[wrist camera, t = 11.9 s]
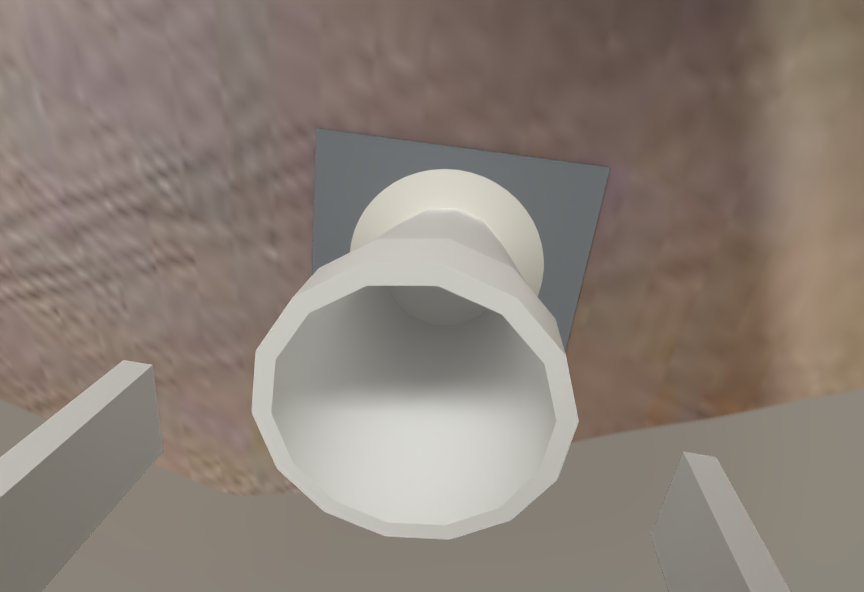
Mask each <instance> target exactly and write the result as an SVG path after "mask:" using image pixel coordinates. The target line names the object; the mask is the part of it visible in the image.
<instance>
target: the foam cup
mask: <svg viewBox="0 0 864 592" xmlns="http://www.w3.org/2000/svg"><path fill="white" fill-rule="evenodd" d="M252 414H253V417H254V419H255V421H256V423H257V425H258V428H259V430H260V432H261V434H262V437H263V439H264V441H265V443H266V445H267V448H268V450H269V452H270V454H271V457H272V459H273V461H274V463H275V465H276V468H277V469H278V470H279V471H280V472H281V473H282V474H283V475H284V476H286V477H287V478H288V479H289V480H290V481H291V482H292V483H293V484H294V485H295V486H297V487H298V488H299V489H300V490H301V491H302V492H303V493H304V494H305V495H307V496H308V497H309V498H310V499H311V500H312V501H313V502H314V503H315V504H316V505H317V506H319V507H320V508H321V509H322V510H323V511H324V512H326V513H329V514H331V515H334V516H336V517H338V518H341V519H343V520H346V521H349V522H351V523H353V524H356V525H358V526H361V527H363V528H366V529H368V530H371V531H373V532H375V533H378V534H380V535H383V536H388V537H407V538H428V539H446V540H448V539H449V540H450V539H454V538H457V537H460V536H464V535H467V534H469V533H473V532H476V531H479V530H483V529H485V528H489V527H492V526H495V525H498V524H502V523H505V522H508V521H511V520H512V519H513V518H514V517H516V516H517V515H518V514H519V513H520V512H521V511H522V510H524V509H525V508H526V507H527V506H528V505H529V504H530V503H531V502H533V501H534V500H535V499H536V498H537V497H538V496H539V495H541V494H542V493H543V492H544V491H545V490H546V489H547V488H548V487H550V486H551V485H552V484H553V483H554V482H555V481H556V480H557V479H558V477H559V474H560V471H561V468H562V465H563V463H564V460H565V458H566V455H567V452H568V449H569V447H570V444H571V441H572V438H573V436H574V433H575V430H576V427H577V425H578V422H579V420H578V415H577V410H576V405H575V400H574V395H573V390H572V384H571V379H570V374H569V369H568V364H567V359H566V354H565V351H564V347H563V344H562V340H561V337H560V333H559V330H558V326H557V322H556V319H555V318H554V316H553V315H552V314H551V313H550V312H549V310H548V309H547V308H546V307H545V306H544V304H543V303H542V302H541V301H540V300H539V298H538V297H537V296H536V295H535V294H534V292H533V291H532V290H531V289H530V288H529V286H528V285H527V284H526V282H525V280H524V279H523V277H522V275H521V274H520V272H519V271H518V269H517V267H516V266H515V264H514V262H513V261H512V259H511V257H510V256H509V254H508V252H507V251H506V249H505V248H504V246H503V244H502V243H501V242H500V240H499V239H498V238H497V237H496V236H495V234H494V233H493V232H492V231H491V230H490V228H489V227H488V226H487V225H486V223H485V222H484V221H483V220H481V219H479V218H477V217H475V216H472V215H470V214H468V213H466V212H464V211H461V210H459V209H457V208H448V209H427V210H425V211H423V212H421V213H419V214H417V215H415V216H413V217H411V218H409V219H407V220H405V221H403V222H401V223H399V224H398V225H396V226H395V227H393V228H392V229H390V230H388V231H387V232H385V233H384V234H382V235H381V236H379V237H378V238H376V239H375V240H373V241H372V242H370V243H368V244H366V245H364V246H362V247H360V248H358V249H356V250H354V251H352V252H350V253H348V254H346V255H344V256H342V257H340V258H338V259H336V260H334V261H332V262H330V263H328V264H326V265H324V266H322V267H320V268H318V270H317V271H316V272H315V273H314V274H313V275H312V276H311V277H310V279H309V280H308V281H307V282H306V283H305V284H304V285H303V286H302V287H301V289H300V290H299V291H298V292H297V293H296V294H295V295H294V296H293V298H292V299H291V301H290V302H289V304H288V305H287V306H286V308H285V309H284V311H283V312H282V314H281V315H280V317H279V318H278V319H277V321H276V322H275V324H274V325H273V327H272V328H271V330H270V331H269V332H268V334H267V335H266V337H265V338H264V340H263V341H262V343H261V344H260V345H259V347H258V348H257V350H256V354H255V369H254V384H253V399H252Z"/></svg>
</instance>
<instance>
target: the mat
mask: <svg viewBox="0 0 864 592" xmlns="http://www.w3.org/2000/svg"><path fill="white" fill-rule="evenodd" d="M609 171H610V168H609V167H605V166H597V165H590V164H582V163H575V162H567V161H559V160H552V159H544V158H537V157H529V156H522V155H514V154H507V153H499V152H492V151H484V150H477V149H469V148H462V147H454V146H447V145H439V144H432V143H424V142H417V141H409V140H402V139H394V138H387V137H379V136H372V135H364V134H357V133H349V132H342V131H334V130H327V129H319V128H318V129H316V147H315V181H314V215H313V249H312V275H313V274H314V273H315V272H316V271H317V270H318V268H320V267H322V266H324V265H326V264H328V263H330V262H332V261H334V260H336V259H338V258H340V257H342V256H344V255H346V254H348V253H350V252H352V251H354V250H356V249H358V248H360V247H362V246H364V245H366V244H368V243H370V242H372V241H373V240H375V239H376V238H378V237H379V236H381V235H382V234H384V233H385V232H387V231H388V230H390V229H392V228H393V227H395V226H396V225H398V224H399V223H401V222H403V221H405V220H407V219H409V218H411V217H413V216H415V215H417V214H419V213H421V212H423V211H425V210H427V209H448V208H457V209H459V210H461V211H464V212H466V213H468V214H470V215H472V216H475V217H477V218H479V219H481V220H483V221H484V222H485V223H486V225H487V226H488V227H489V228H490V230H491V231H492V232H493V233H494V234H495V236H496V237H497V238H498V239H499V240H500V242H501V243H502V244H503V246H504V248H505V249H506V251H507V252H508V254H509V256H510V257H511V259H512V261H513V262H514V264H515V266H516V267H517V269H518V271H519V272H520V274H521V275H522V277H523V279H524V280H525V282H526V284H527V285H528V286H529V288H530V289H531V290H532V291H533V292H534V294H535V295H536V296H537V297H538V298H539V300H540V301H541V302H542V303H543V304H544V306H545V307H546V308H547V309H548V310H549V312H550V313H551V314H552V315H553V316H554V318H555V319H556V322H557V326H558V330H559V333H560V337H561V340H562V344H563V347H564V351H566V347H567V343H568V339H569V335H570V331H571V327H572V323H573V318H574V314H575V310H576V306H577V302H578V298H579V294H580V290H581V286H582V282H583V277H584V273H585V269H586V265H587V261H588V257H589V253H590V249H591V245H592V241H593V236H594V232H595V228H596V224H597V220H598V216H599V212H600V208H601V204H602V199H603V195H604V191H605V187H606V183H607V179H608V175H609Z"/></svg>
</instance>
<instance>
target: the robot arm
mask: <svg viewBox="0 0 864 592" xmlns="http://www.w3.org/2000/svg"><path fill="white" fill-rule="evenodd" d="M162 452H163V447H162V439H161V431H160V422H159V414H158V406H157V397H156V389H155V381H154V372H153V365H150V364H144V363H137V362H131V361H125V360H123V361H122V362H121V363H119V364H118V365H117V366H116V367H114V368H113V369H112V370H110V371H109V372H108V373H107V374H105V375H104V376H103V377H102V378H100V379H99V380H98V381H97V382H95V383H94V384H93V385H91V386H90V387H89V388H88V389H86V390H85V391H84V392H83V393H81V394H80V395H79V396H78V397H76V398H75V399H74V400H72V401H71V402H70V403H69V404H67V405H66V406H65V407H64V408H62V409H61V410H60V411H59V412H57V413H56V414H55V415H53V416H52V417H51V418H50V419H48V420H47V421H46V422H45V423H43V424H42V425H41V426H40V427H38V428H37V429H36V430H34V431H33V432H32V433H31V434H29V435H28V436H27V437H26V438H24V439H23V440H22V441H21V442H19V443H18V444H17V445H15V446H14V447H13V448H12V449H10V450H9V451H8V452H7V453H5V454H4V455H3V456H2V457H0V592H42V590H43V589H44V588H45V587H46V586H47V585H48V584H49V582H50V581H51V580H52V579H53V578H54V577H55V575H56V574H57V573H58V572H59V571H60V570H61V569H62V567H63V566H64V565H65V564H66V563H67V562H68V560H69V559H70V558H71V557H72V556H73V555H74V553H75V552H76V551H77V550H78V549H79V548H80V547H81V545H82V544H83V543H84V542H85V541H86V540H87V538H88V537H89V536H90V535H91V534H92V533H93V532H94V530H95V529H96V528H97V527H98V526H99V525H100V523H101V522H102V521H103V520H104V519H105V518H106V517H107V515H108V514H109V513H110V512H111V511H112V510H113V508H114V507H115V506H116V505H117V504H118V503H119V501H120V500H121V499H122V498H123V497H124V496H125V494H126V493H127V492H128V491H129V490H130V489H131V488H132V486H133V485H134V484H135V483H136V482H137V481H138V480H139V478H140V477H141V476H142V475H143V474H144V473H145V471H146V470H147V469H148V468H149V467H150V466H151V465H152V463H153V462H154V461H155V460H156V459H157V458H158V457H159V455H160V454H161V453H162ZM651 539H652V542H653V545H654V548H655V551H656V555H657V558H658V561H659V564H660V567H661V570H662V573H663V576H664V579H665V582H666V585H667V588H668V591H669V592H791V590H790V589H789V587H788V585H787V583H786V582H785V580H784V578H783V576H782V575H781V573H780V571H779V569H778V567H777V565H776V564H775V562H774V560H773V558H772V556H771V555H770V553H769V551H768V549H767V548H766V546H765V544H764V542H763V540H762V539H761V537H760V535H759V533H758V531H757V530H756V528H755V526H754V524H753V522H752V521H751V519H750V517H749V515H748V513H747V512H746V510H745V508H744V506H743V505H742V503H741V501H740V499H739V497H738V496H737V494H736V492H735V490H734V488H733V487H732V485H731V483H730V481H729V480H728V478H727V476H726V474H725V472H724V470H723V469H722V467H721V465H720V463H719V461H718V460H717V458H716V457H714V456H707V455H701V454H695V453H689V452H683V453H682V455H681V458H680V461H679V463H678V466H677V468H676V471H675V473H674V476H673V478H672V481H671V484H670V486H669V489H668V491H667V494H666V497H665V499H664V502H663V504H662V507H661V510H660V512H659V514H658V517H657V520H656V522H655V525H654V527H653V530H652V532H651Z"/></svg>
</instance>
